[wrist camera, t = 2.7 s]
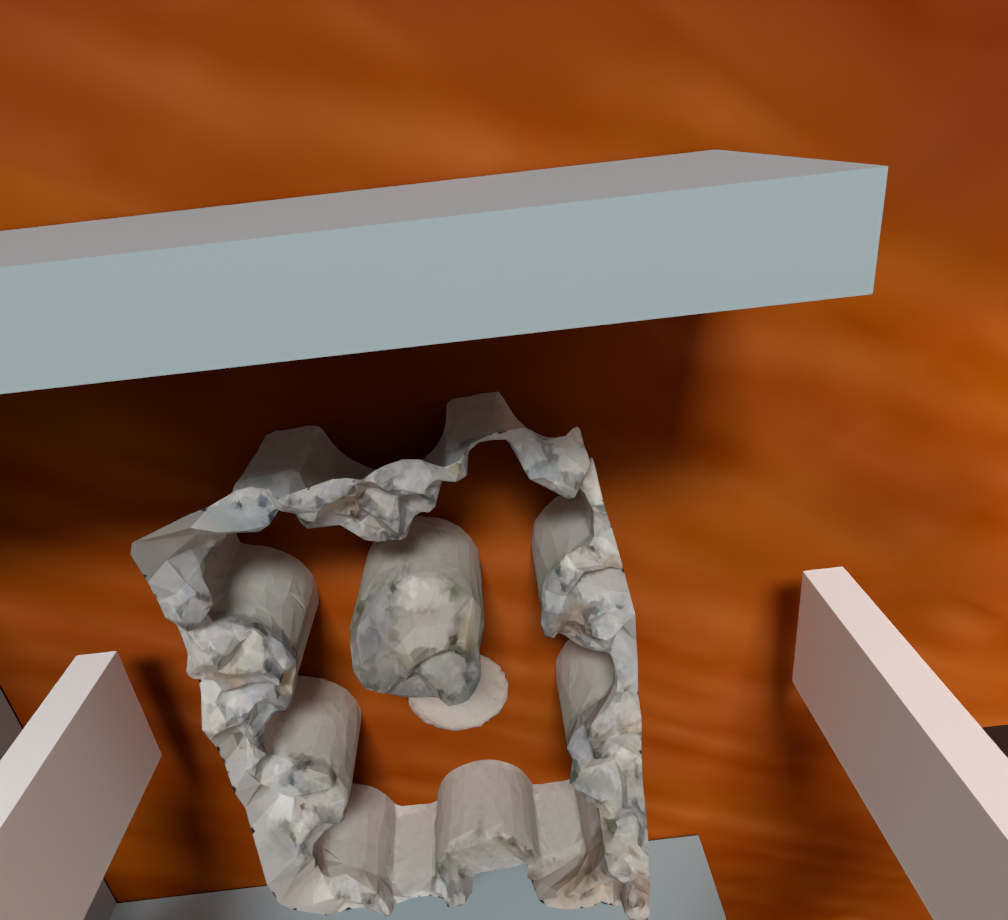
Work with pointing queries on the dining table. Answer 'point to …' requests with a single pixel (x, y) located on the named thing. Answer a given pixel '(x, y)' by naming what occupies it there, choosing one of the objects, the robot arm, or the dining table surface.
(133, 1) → the dining table surface
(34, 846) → the robot arm
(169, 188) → the dining table surface
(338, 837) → the egg carton
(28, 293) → the open side box
